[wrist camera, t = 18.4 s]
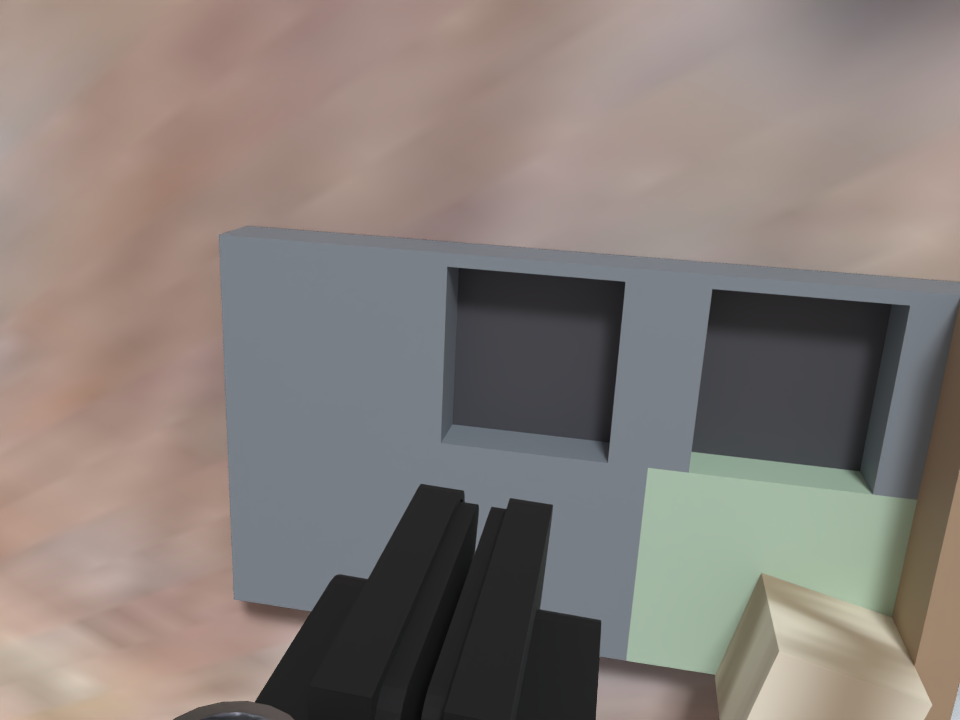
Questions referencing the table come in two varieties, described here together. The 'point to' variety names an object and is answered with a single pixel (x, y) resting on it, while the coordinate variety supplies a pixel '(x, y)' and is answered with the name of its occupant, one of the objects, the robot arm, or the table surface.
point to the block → (816, 661)
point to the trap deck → (601, 429)
